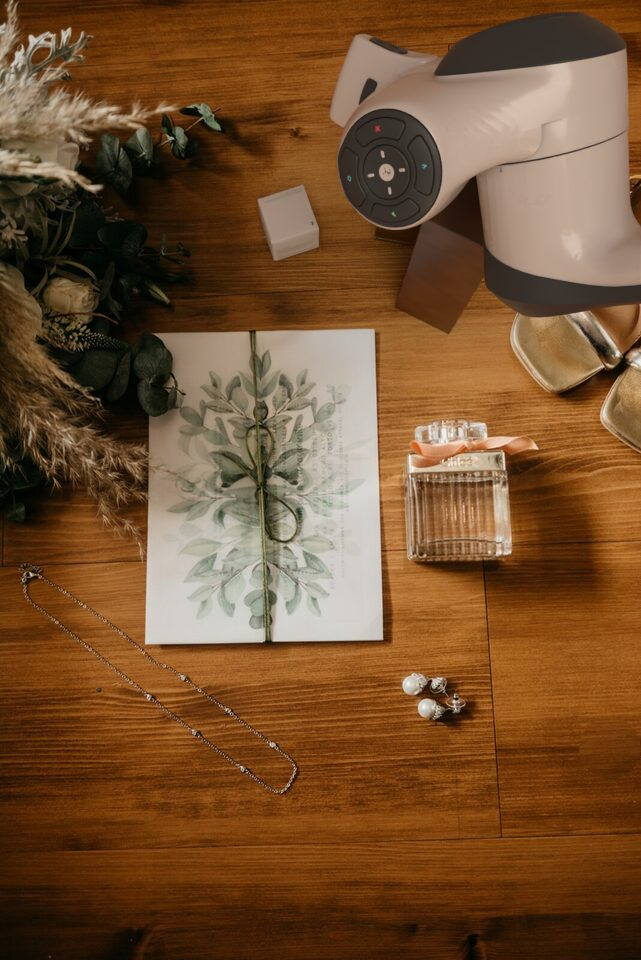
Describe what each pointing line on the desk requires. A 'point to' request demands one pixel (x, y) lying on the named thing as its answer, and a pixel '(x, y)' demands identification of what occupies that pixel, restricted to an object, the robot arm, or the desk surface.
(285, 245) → the small box
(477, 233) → the plinth
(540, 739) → the desk surface
